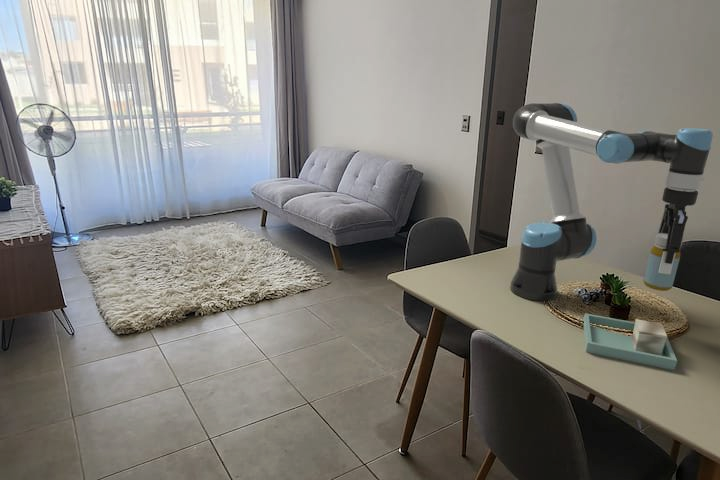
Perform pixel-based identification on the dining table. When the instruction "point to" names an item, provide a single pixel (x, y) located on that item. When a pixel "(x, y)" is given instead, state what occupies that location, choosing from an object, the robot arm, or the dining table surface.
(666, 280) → the bottle
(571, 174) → the robot arm
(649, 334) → the beige rectangular box
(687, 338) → the dining table surface
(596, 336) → the tote
